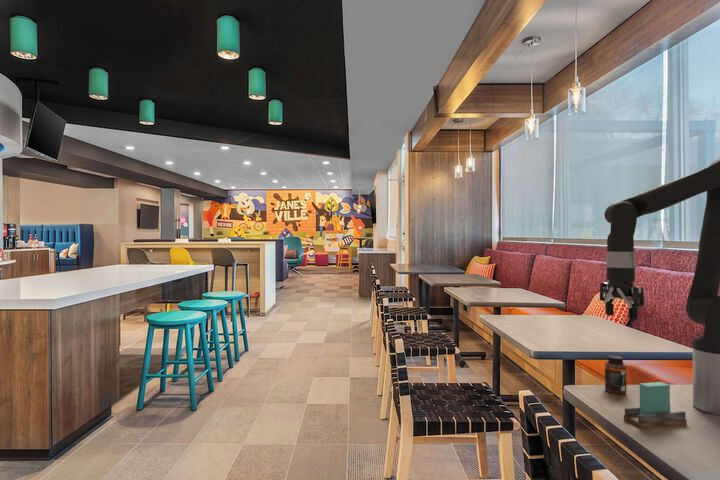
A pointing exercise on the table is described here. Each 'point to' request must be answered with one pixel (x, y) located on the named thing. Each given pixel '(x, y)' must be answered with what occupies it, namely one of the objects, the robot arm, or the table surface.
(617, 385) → the supplement bottle
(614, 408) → the table surface
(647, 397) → the teal rectangular block
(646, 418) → the floor track
